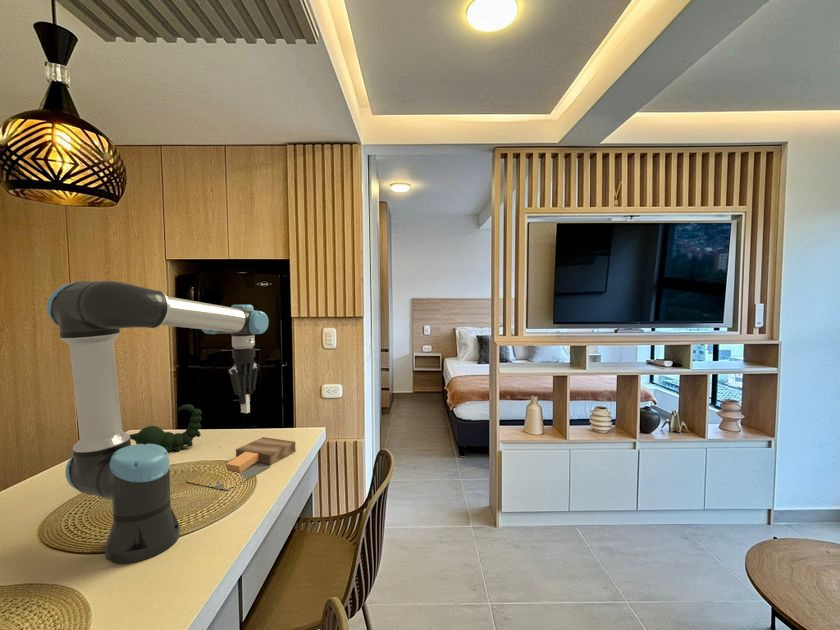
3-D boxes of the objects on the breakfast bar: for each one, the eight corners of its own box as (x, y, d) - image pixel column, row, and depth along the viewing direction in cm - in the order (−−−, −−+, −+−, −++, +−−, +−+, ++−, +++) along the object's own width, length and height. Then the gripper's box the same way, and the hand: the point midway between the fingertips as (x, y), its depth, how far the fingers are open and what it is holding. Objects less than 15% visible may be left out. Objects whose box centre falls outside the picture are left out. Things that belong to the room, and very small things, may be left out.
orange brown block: (240, 473, 139) (239, 466, 139) (226, 470, 142) (225, 463, 141) (259, 460, 148) (258, 453, 147) (246, 457, 150) (245, 451, 150)
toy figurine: (198, 446, 172) (125, 454, 157) (201, 401, 172) (128, 405, 158) (200, 452, 164) (124, 462, 150) (203, 405, 164) (127, 410, 150)
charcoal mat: (227, 491, 127) (227, 490, 127) (185, 482, 134) (185, 481, 134) (270, 467, 145) (270, 466, 145) (232, 460, 151) (231, 459, 151)
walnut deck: (270, 465, 146) (269, 454, 146) (236, 459, 152) (235, 449, 152) (295, 451, 159) (295, 441, 159) (263, 446, 165) (263, 437, 165)
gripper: (237, 349, 139) (239, 418, 140) (265, 345, 151) (266, 408, 152) (220, 349, 142) (222, 416, 142) (249, 345, 154) (251, 406, 154)
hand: (245, 412), depth 147 cm, fingers closed
